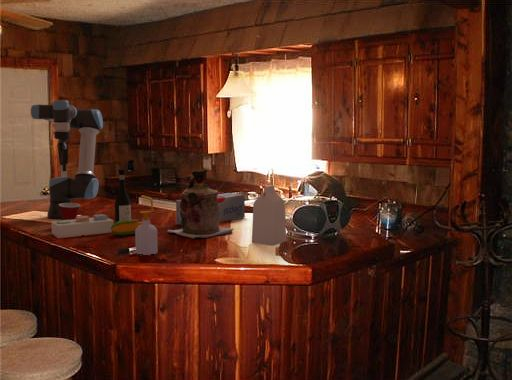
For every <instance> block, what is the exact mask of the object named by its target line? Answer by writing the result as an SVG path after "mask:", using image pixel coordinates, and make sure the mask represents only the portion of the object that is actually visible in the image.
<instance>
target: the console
mask: <svg viewBox="0 0 512 380" xmlns="http://www.w3.org/2000/svg"><path fill="white" fill-rule="evenodd" d="M57 221H58V220H53V221H51V222H50V223H51V224H50V225H51V234H52V235H53V236H54V237H55V238H57V239H64V238H73V237H81V236H82V235H84V236H91V235H100V234H110V233H112V231H111V227H112V225H113V224H114V223H115V222H114V221H115V219H114V220H113V219H111V218H109V217H107V220H99V221H96V220H94V217H89V221H85V222H76V219H73V220H69V221H71V223H68V224H58V223H57Z"/></svg>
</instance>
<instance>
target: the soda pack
mask: <svg viewBox="0 0 512 380" xmlns="http://www.w3.org/2000/svg"><path fill="white" fill-rule="evenodd" d="M245 196H246V195H245V194H243V193H242V194H241V193H233V192H225V193H220V194H219V193H218V195H217V203H218V207H219V223H221V222H227V221H232V220H237V219H243V218H245V217H246V215H245V214H246V211H245V210H246V209H245V208H246V207H245V206H246V204H245V200H246V198H245ZM180 202H181V199H178V200H177V199H176V200H175V205H176V206H175V211H176V212H175V215H176V225H178V226H181V221H182V216H181V209H180Z"/></svg>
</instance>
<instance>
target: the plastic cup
mask: <svg viewBox="0 0 512 380" xmlns="http://www.w3.org/2000/svg"><path fill="white" fill-rule="evenodd" d="M59 206H60V209H61V214H62V219H61V220H73V219H76V217H78V216H79V215H78V214H79V210H80V207H81V204H80V203H76V202H72V203H61V204H59Z"/></svg>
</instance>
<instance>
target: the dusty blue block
mask: <svg viewBox="0 0 512 380" xmlns="http://www.w3.org/2000/svg"><path fill="white" fill-rule="evenodd" d="M93 218H94V220H96V221H99V220H107V218H108V215H106V214H105V213H104V214H103V213H100V214H94V215H93Z"/></svg>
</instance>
